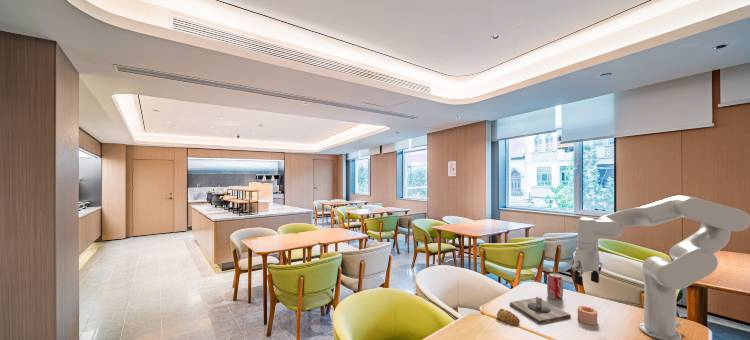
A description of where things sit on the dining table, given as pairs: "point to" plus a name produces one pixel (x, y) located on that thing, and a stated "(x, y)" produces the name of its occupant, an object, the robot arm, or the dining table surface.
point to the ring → (587, 315)
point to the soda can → (555, 286)
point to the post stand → (540, 310)
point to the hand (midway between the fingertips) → (586, 283)
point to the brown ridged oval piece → (508, 317)
